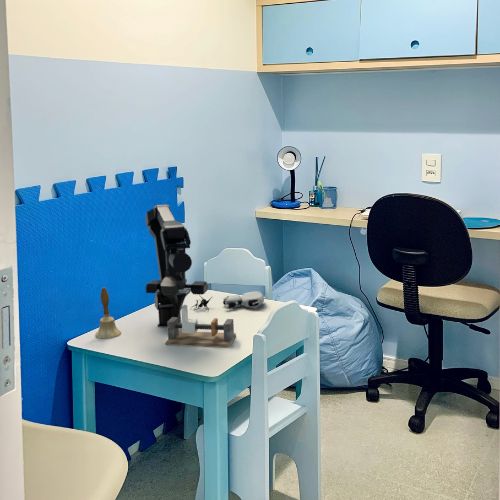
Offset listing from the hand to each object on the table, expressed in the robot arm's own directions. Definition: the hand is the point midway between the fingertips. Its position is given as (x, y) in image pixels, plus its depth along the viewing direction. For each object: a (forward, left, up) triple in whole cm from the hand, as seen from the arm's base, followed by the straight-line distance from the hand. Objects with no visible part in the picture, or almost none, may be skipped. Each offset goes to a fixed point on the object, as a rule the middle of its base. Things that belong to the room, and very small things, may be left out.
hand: (178, 313), depth 203 cm
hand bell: (-25, +2, -9) cm, 27 cm away
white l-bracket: (+4, 0, -6) cm, 7 cm away
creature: (-1, +31, -9) cm, 32 cm away
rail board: (+7, 0, -9) cm, 11 cm away
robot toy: (+13, +37, -9) cm, 40 cm away
